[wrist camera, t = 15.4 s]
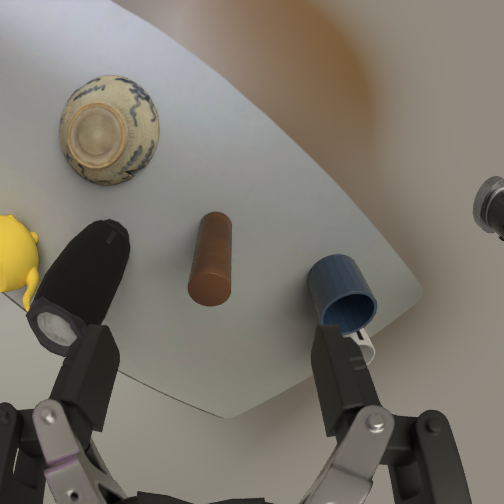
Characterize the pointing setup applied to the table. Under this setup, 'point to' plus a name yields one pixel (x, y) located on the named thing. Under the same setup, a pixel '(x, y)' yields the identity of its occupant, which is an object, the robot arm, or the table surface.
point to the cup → (363, 344)
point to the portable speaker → (79, 285)
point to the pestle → (212, 261)
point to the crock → (341, 294)
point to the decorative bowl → (109, 129)
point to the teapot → (18, 258)
